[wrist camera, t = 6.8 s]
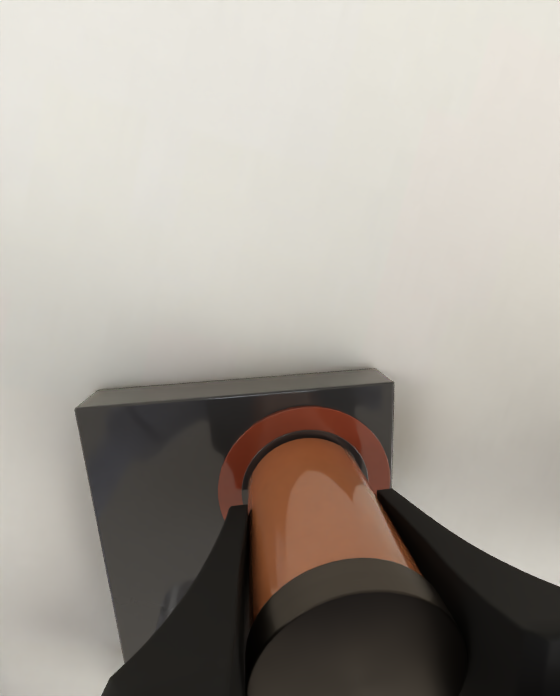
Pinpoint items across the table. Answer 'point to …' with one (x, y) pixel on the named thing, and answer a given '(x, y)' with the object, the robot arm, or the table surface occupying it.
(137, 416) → the hob
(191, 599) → the robot arm
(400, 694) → the jar
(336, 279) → the table surface
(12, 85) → the table surface
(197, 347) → the table surface
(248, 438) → the burner
